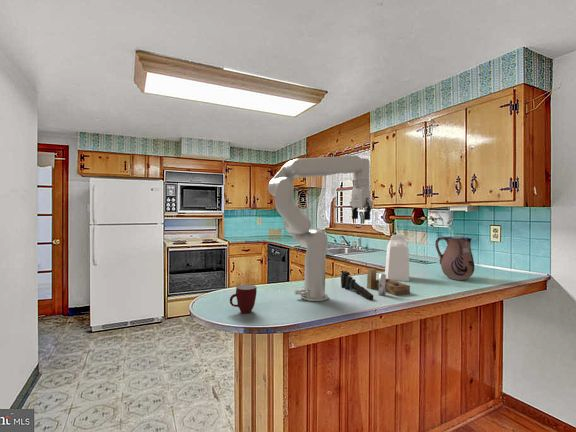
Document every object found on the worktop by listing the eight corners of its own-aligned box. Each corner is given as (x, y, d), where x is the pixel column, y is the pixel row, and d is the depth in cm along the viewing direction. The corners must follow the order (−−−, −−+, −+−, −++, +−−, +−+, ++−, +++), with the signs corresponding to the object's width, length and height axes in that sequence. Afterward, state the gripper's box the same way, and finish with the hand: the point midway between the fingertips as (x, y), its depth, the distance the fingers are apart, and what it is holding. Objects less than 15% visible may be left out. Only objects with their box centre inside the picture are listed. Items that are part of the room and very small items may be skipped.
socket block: (409, 293, 157) (409, 285, 157) (395, 295, 153) (395, 287, 153) (387, 285, 172) (388, 278, 172) (374, 287, 168) (374, 279, 168)
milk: (404, 276, 195) (406, 234, 194) (409, 281, 184) (410, 236, 183) (384, 275, 197) (385, 233, 196) (387, 279, 186) (389, 235, 185)
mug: (233, 317, 121) (233, 291, 120) (227, 311, 128) (227, 286, 127) (259, 313, 125) (259, 288, 125) (251, 307, 133) (252, 283, 132)
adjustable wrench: (366, 310, 146) (339, 285, 169) (371, 309, 147) (344, 285, 170) (369, 293, 144) (341, 271, 167) (374, 293, 145) (346, 270, 168)
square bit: (370, 289, 164) (371, 270, 164) (367, 287, 167) (367, 268, 167) (375, 288, 165) (376, 269, 165) (372, 287, 168) (372, 268, 168)
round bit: (381, 296, 152) (381, 275, 152) (377, 294, 155) (377, 274, 155) (386, 295, 153) (387, 274, 153) (382, 293, 156) (382, 273, 156)
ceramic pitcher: (477, 283, 181) (479, 239, 180) (436, 280, 187) (438, 237, 186) (470, 276, 197) (471, 236, 196) (432, 274, 204) (434, 235, 203)
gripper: (344, 184, 162) (344, 218, 162) (365, 183, 146) (365, 220, 146) (357, 185, 165) (356, 218, 165) (379, 183, 149) (378, 220, 149)
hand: (360, 219), depth 156 cm, fingers open, 9 cm apart
